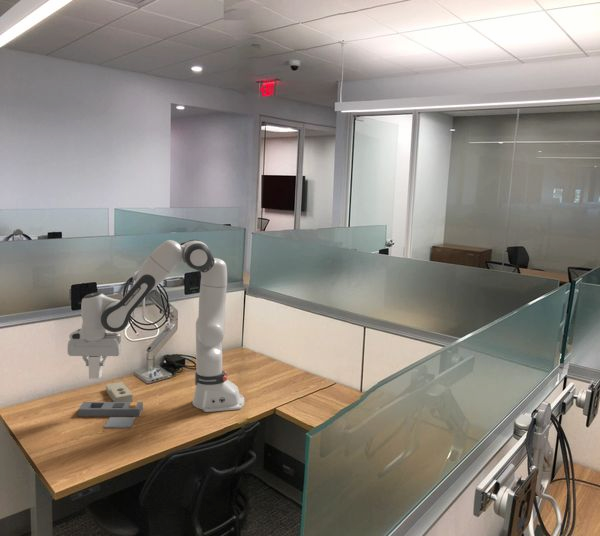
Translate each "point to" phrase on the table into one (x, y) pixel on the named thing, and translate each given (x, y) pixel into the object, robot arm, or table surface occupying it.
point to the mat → (119, 422)
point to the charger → (95, 367)
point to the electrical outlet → (119, 392)
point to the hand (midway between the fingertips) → (95, 365)
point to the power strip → (110, 409)
